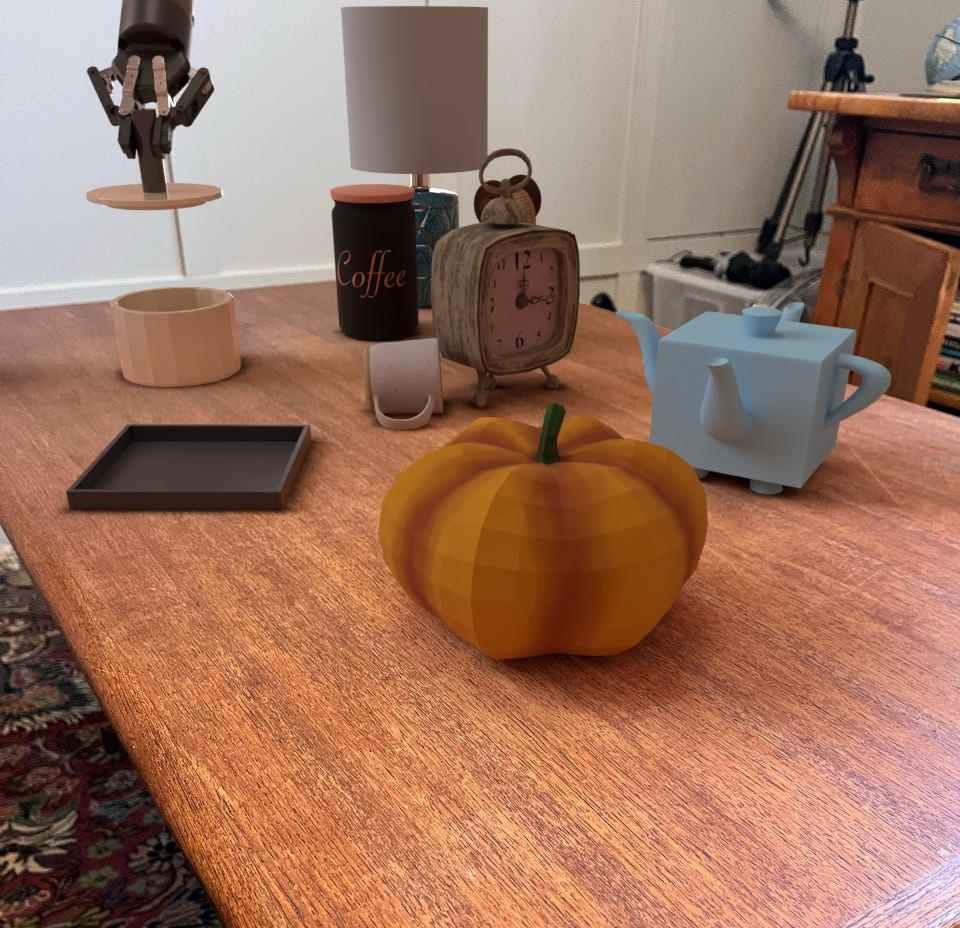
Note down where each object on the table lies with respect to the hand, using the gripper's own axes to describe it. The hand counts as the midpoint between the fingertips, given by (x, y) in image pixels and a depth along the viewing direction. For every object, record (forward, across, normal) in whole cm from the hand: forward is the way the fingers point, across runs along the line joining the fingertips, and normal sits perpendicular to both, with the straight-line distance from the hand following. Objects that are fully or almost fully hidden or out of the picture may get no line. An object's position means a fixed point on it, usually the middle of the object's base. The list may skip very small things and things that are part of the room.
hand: (144, 153), depth 107 cm
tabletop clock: (+21, +38, +13) cm, 45 cm away
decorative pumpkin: (+57, +40, -23) cm, 74 cm away
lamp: (-10, +27, +44) cm, 53 cm away
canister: (+15, 0, +18) cm, 24 cm away
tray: (+39, +10, -5) cm, 40 cm away
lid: (+2, 0, +5) cm, 5 cm away
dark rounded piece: (+6, +39, +28) cm, 48 cm away
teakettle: (+37, +59, -4) cm, 70 cm away
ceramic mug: (+27, +28, +7) cm, 39 cm away
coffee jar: (+3, +22, +31) cm, 38 cm away
